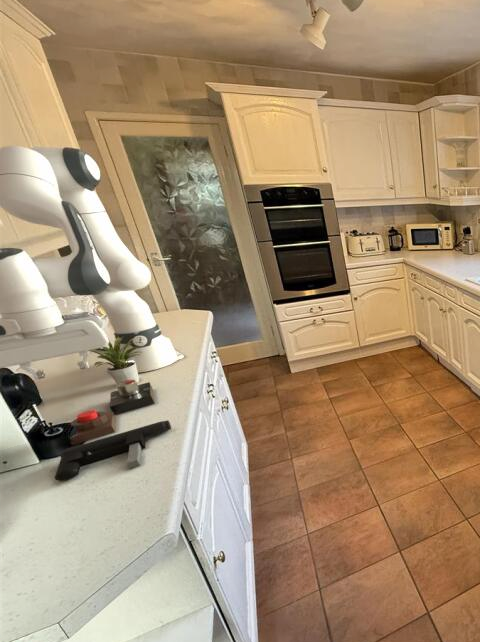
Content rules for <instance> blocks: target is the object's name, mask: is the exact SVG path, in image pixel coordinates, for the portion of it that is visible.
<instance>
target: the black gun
mask: <svg viewBox="0 0 480 642" xmlns="http://www.w3.org/2000/svg"><path fill="white" fill-rule="evenodd" d="M171 430H172V424H171V422H170V421H169V420H168V419H167V420H160V421H158V422H154V423H151V424H147V425H143V426H140V427H137V428H134V429H130V430H127V431H124V432H119V433H116V434H113V435H110V436H105V437H101V438H99V439H95V440H93V441H92V440H91V441H89V442H84V443H83V444H77V445H74V446H71V447H69V448H65V449H64V450H62V452H61V453H60V461H59V463H58V467H57V469H56V472H55V475H54V480H56V481H59V482H63V481H69V480H72V479H74V478H76V477H77V476H78V475H79V473H80V471H81V468H83V467H87V466H89V465H93V464H95V463H99V462H101V461H105V460H109V459H112V458H115V457H118V456H121V455H124V454H128V456H127V465H128V467H129V468H130V469H134V468H137V467H139V466H141V459H142V450H145V449H146V446H147V444H146V443H147V438H150V437H153V436H157V435H161V434H164V433H167V432H168V431H171Z"/></svg>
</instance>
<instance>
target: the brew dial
mask: <svg viewBox="0 0 480 642" xmlns="http://www.w3.org/2000/svg"><path fill="white" fill-rule="evenodd" d="M138 385H139V384H138V382H137V383H136V381H135V380H127V381H123V382H120V383H118V384H117V383H116V384H115V387H116V391H117V390H118V392H119V394H120V396H121V397H128V396H132V395H135V394H137V393H139V392H140V389H139V387H138Z"/></svg>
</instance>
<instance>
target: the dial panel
mask: <svg viewBox="0 0 480 642" xmlns="http://www.w3.org/2000/svg"><path fill="white" fill-rule="evenodd" d="M137 385H138V387H139V389H140V392H139V393H137V394H135V395H132V396H128V397H121V396H120V394H119V392H118V390H117V389H116V390H114V391H111V392H110V399H109V409H110V412H112V411H113V413H114V414H115V416H118V415H120V414H125V413H129V412H132V411H135V410H139V409H142V408H146V407H149V406H152V405H155V404H156V403H155V402H156V401H155V394H154V393H155V392H154V389H153V386H152V384H151V382H150V381H148V382H145V383H140V384H137Z"/></svg>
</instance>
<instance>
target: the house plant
mask: <svg viewBox="0 0 480 642" xmlns="http://www.w3.org/2000/svg"><path fill="white" fill-rule="evenodd" d="M135 338H136V337H135ZM108 339H109V344H108V345H107V346H108V347H107V346H106V347H103V348H102V349H104V350H105V351H106V352H105V351H104V352H103V351H100V350H96V349H94V350H88V351H89V352H92V353H94V354H96V355H97V354H98V356H97V358H98V359H103V360H106V361H107V362H104V361H96V362H94V365H93V367H95V366H97V367H99V366H102V365H110V366H108V367H107V368H106V371H107V373H108V374H109V376H111V378H112V380H113V381H114V382H115V383H116V385H117V384H118V383H120V382H123V381H127V380H135V381H136V383H137V384H138V383H139V382H140V377H139V373H138V372H137V367H136V363H135V362H128V358H130V357H133V356H137V355H140V354H134V353H143V352H134V353H132V354H134V355H132V354H130V353H131V352H132V351H133V350H135V349H137V348H139V347H142V346H138V347H134V348H131V349H129V350H127V349H126V347H128V345H129V344H131V343H130V342H131V341H132V340H133V339H134V338H133V339H131V340H130V341H129V342H128V343H127V344H126V346H124V347H123V348H124V349H123V348H122V349H121V350H120V341H121V339H122V338H121V339H120V340H119V337H117V338H116V339H115V340H114V342H113V344H112V343H111V341H110V338H109V337H108ZM133 343H134V342H133ZM129 346H132V345H129ZM144 346H145V345H144ZM122 350H123V351H122ZM125 350H127V351H126V352H125V353H124V351H125ZM121 352H123V353H121ZM129 354H130V355H132V356H130V355H129ZM129 356H130V357H129ZM141 356H142V355H141ZM130 359H131V358H130ZM130 359H129V360H130ZM126 361H127V362H126Z"/></svg>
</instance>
